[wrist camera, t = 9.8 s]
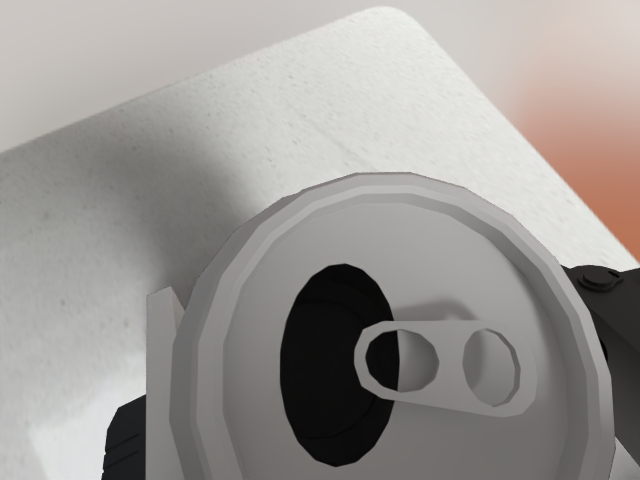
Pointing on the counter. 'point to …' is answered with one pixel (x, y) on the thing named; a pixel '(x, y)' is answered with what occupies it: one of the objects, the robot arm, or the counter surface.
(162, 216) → the counter surface
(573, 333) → the can
